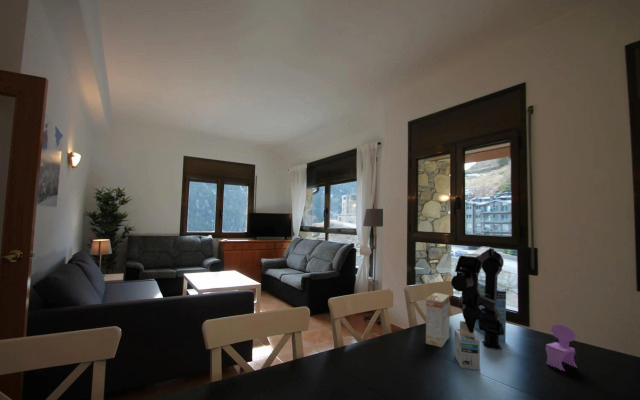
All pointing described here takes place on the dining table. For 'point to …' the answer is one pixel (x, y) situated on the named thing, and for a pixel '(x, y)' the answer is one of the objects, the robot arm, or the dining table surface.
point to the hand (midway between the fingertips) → (469, 328)
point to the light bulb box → (467, 351)
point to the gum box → (500, 308)
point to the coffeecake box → (437, 319)
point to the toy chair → (561, 347)
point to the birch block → (465, 330)
